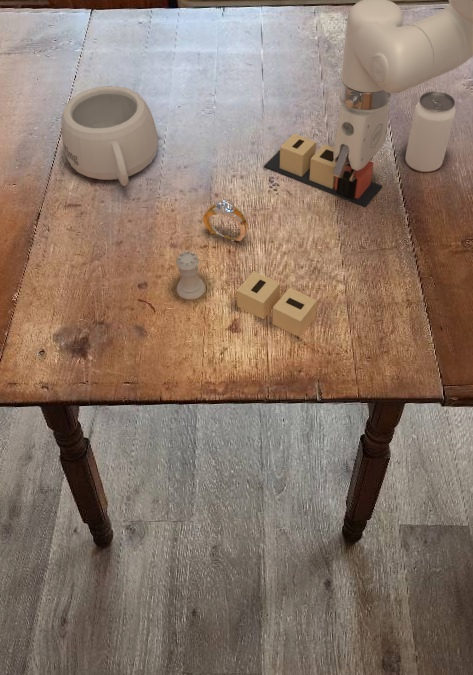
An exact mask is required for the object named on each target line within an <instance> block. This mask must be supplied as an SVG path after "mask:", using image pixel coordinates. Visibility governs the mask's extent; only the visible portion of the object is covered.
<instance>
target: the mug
mask: <svg viewBox="0 0 473 675" xmlns="http://www.w3.org/2000/svg"><path fill="white" fill-rule="evenodd" d="M61 141H62V147H63V152H64V154H65V157H66V158H67V161H68V162H69V164H70V166H71V168H73V170H75V171H76V172H77V173H79V174H81V175H82V176H84V177H88V178H91V179H95V180H101V181H113V180H118V181H119V183H120V185H121V186H123V187H126V186H127V185H129V181H130V180H129V177H131V176H133V175H136V174H137V173H139V172H141V171H142V170H144V169H145V168H146V167H147V166H149V165H150V164H151V163H152V162H153V160H154V159H155V157H156V155H157V152H158V147H159V137H158V131H157V127H156V123H155V120H154V117H153V114H152V112H151V110H150V107H149V105H148V104H147V102H146V101H145V99H144V98H143V97H142V96H141V95H140V94H139V93H138V92H136V91H135V90H132V89H130V88H128V87H124V86H116V85H105V86H97V87H94V88H90V89H86V90H84V91H82V92H80V93H77V94H76V95H74V96H73V97H71V98H70V100H69V101H68V102H67V103H66V105H65V106H64V109H63V112H62V114H61Z"/></svg>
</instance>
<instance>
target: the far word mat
mask: <svg viewBox="0 0 473 675" xmlns="http://www.w3.org/2000/svg"><path fill="white" fill-rule="evenodd" d="M316 148H317V141H316V140H313V139H310V138H308V137H304V136H302V135H299V134H297V133H293V134H292V135H291V136H289V138H288V139H286V140H285V141H284V143H283V144H282V145H281V146H280V147H279V150H278V151H277V152H276V153H275V154H274V155H273V156H272V157H270V159H269V160H268V161H267V162H266V163H265V164H264V165H263V168H265V169H267V170H270V171H272V172H274V173H277V174H280V175H282V176H285V177H287V178H290V179H293V180H295V181H297V182H299V183H302V184H304V185H305V184H306V185H308V186H311V187H313V188H315V189H318V190H321V191H323V192H326V193H329V194H331V195H333V196H336V197H338V198H340V199H343V200H345V201H347V202H350V203H352V204H353V203H354V204H356V205H358V206H361V207H363V208H367V206H369V205H370V203H371V202H372V201H373V199H375V197H376V196H377V194H378V193H379V192H380V191H381V189H383V185H381V184H380V183H376V182H374V181H371V184H370V185H369V187H368V188H367V189H366V190H365V191H364V193H363V194H362V195H361V196H360V197H359V199H357V198H353V199H350V198H347V197H345V196H342V195H340V194H337V192H336V190H335V180H336V176H333V172H334V169H335V166H336V163H335V161H334V147H332V146H329V145H327V144H323V145H322V146H321V147H320V148H319V149H318V150H317V151H316Z"/></svg>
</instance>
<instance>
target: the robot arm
mask: <svg viewBox="0 0 473 675" xmlns="http://www.w3.org/2000/svg"><path fill="white" fill-rule="evenodd" d="M448 3H449V4H447V5H446V6H445V7H444V8H442V9H441V10H440V11H439V12H437V13H435V14H433V15H429V16H427V17H424V18H422V19H419V20H417V21H415V22H412V23H409V24H407V25H403V24H404V14H403V12H402V9H401V7H400V6H399V5H398V4H396V3H395V2H393V1H391V0H360V1H358V2H356V3H355V4H354V5H353V6H352V7H351V8H350V10H349V12H348V13H347V19H346V27H345V38H344V48H343V58H342V67H341V78H340V86H339V87H340V88H339V97H338V98H339V102H340V104H341V106H340V109H339V114H338V120H337V125H336V129H335V137H334V142H333V148H334V161H335V163H336V166H335V169H334V172H333V176H336V177H338V182H337V191H336V192H337V194H340V195H342V196H345V197H347V198H350V199H353V198H354V197H355V192H356V185H357V179H356V178H355V177H356V172H357V171H359V170H361V169H362V168H364V167H365V166H366V164H367V163H368V162H369V161H370V162H372V161H373V160H374V157H375V156H376V155H377V153H378V152H379V151H380V149H382V147H383V146H384V144H385V142H386V140H387V135H388V134H387V133H388V127H389V126H388V125H389V116H390V108H391V107H390V105H391V96H392V94H395V95H396V94H400V93H403V92H405V91H408V90H410V89H412V88H415V87H416V86H420V85H422V84H424V83H426V82H427V81H430V80H432V79H434V78H437V77H439V76H441V75H443V74H446V73H449V72H451V71H453V70H455V69H457V68H459V67H461V66H462V65H463V64H465V63H466V62H468V61H469V60H470V59H471V58H472V57H473V0H448ZM346 165H347V166H350V167H351V168H352V169H351V173H350V172H349V171H346V170H345V167H346Z"/></svg>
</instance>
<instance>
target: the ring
mask: <svg viewBox="0 0 473 675" xmlns="http://www.w3.org/2000/svg"><path fill="white" fill-rule="evenodd" d="M234 204H235V203H233V201H231V200H228V199H226V198H223V199H222V200H218V201H215V202H213V203H211V204H210V205H209V207H208V208H207V209H206V211H205V212H204V215H203V216H202V220H203V221H202V222H203V224H204V226H205V228H206V229H207V231H208V232H209V233H211V234H213V235H218V236H220V237H223V238H224V239H227V240H230V241H232V242H233V243H236V244H238V243H240V242H241V241H242V240H243V239H244V237H245V236H246V235H247V231H248V224H247V219H246V218H245V215H244V214H243V213H242V212H241V210H240V209H238V208H237V207H236V206H235V205H234ZM216 215H220V216H225V217H229V218H231V219H233V220H234V221H235V222H236V223H237V225H238V226H239V229H240V233H239V234H240V235H238V236H237V237H230V236H229V235H227V234H225V235H224V234H222V233H221V232H219V231H218V230H217V229H216V228H215V226H214V225H213V224H212V221H211V217H212V216H216Z"/></svg>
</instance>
